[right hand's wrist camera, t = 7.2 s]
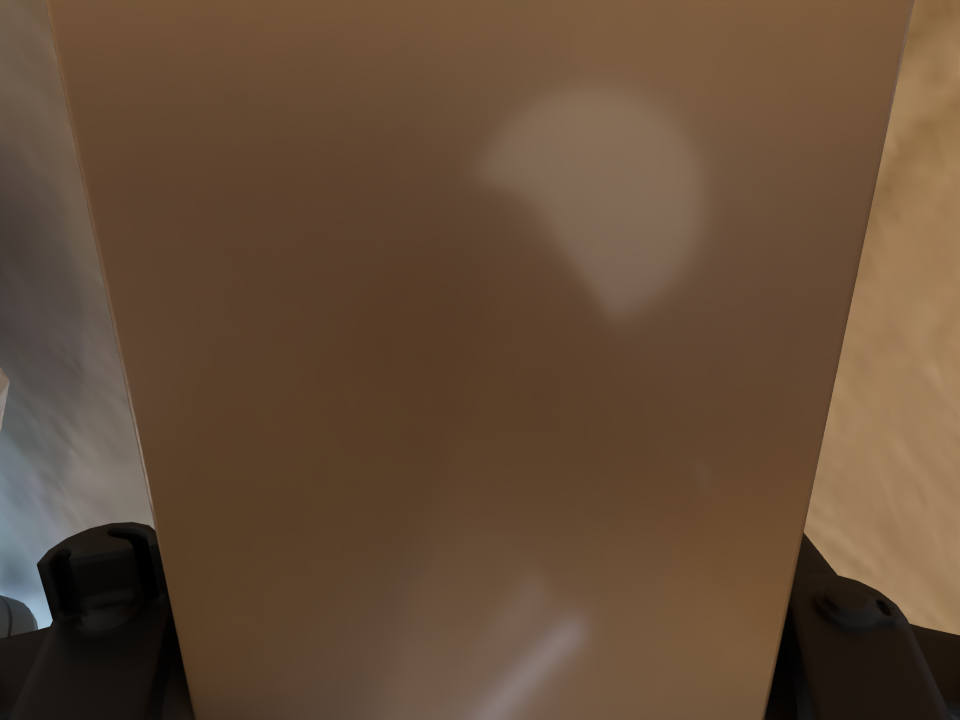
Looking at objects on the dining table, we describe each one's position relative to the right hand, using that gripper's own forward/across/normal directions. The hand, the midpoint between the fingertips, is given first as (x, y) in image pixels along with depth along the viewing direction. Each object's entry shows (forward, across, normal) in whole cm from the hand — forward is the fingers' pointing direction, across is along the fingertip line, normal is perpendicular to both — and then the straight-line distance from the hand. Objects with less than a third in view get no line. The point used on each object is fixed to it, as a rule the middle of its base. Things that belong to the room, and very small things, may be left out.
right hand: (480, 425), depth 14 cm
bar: (+1, 0, -10) cm, 10 cm away
